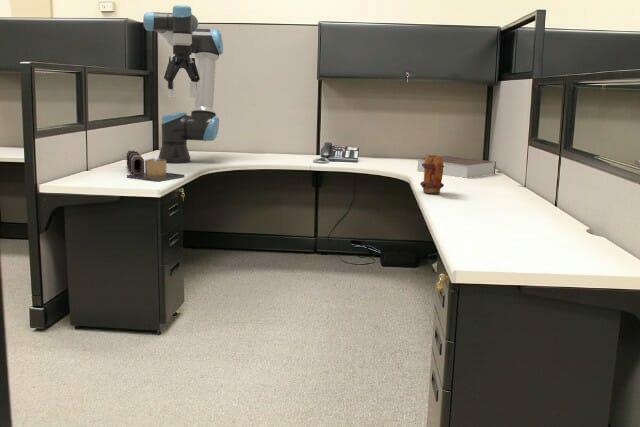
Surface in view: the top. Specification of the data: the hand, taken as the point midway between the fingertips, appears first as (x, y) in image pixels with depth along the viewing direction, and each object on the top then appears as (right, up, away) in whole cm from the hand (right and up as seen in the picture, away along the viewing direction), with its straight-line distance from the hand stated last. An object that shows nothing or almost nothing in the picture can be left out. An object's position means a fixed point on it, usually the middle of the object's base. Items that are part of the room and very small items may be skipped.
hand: (182, 97), depth 271 cm
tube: (-23, -30, +8) cm, 39 cm away
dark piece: (-9, -34, -9) cm, 36 cm away
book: (+121, -30, +38) cm, 131 cm away
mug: (+100, -41, -26) cm, 111 cm away
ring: (-9, -33, -9) cm, 35 cm away
